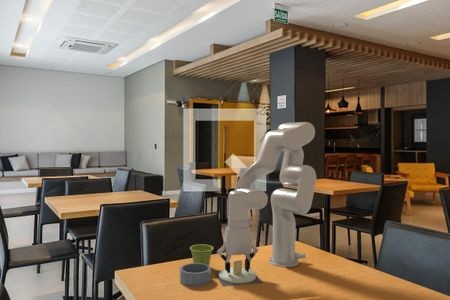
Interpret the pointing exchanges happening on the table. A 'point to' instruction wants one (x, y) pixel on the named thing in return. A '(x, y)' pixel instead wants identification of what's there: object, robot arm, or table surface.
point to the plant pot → (201, 253)
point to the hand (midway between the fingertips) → (237, 271)
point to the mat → (236, 284)
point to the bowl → (195, 274)
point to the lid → (237, 274)
